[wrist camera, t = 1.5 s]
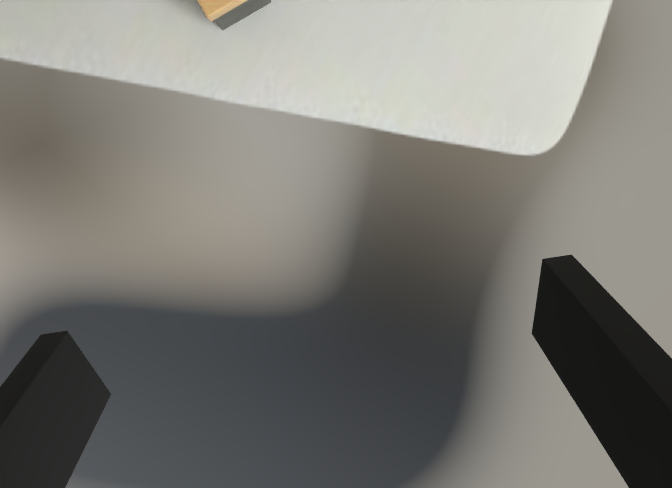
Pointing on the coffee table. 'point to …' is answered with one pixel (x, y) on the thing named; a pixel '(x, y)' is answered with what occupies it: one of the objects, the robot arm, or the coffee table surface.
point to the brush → (230, 10)
